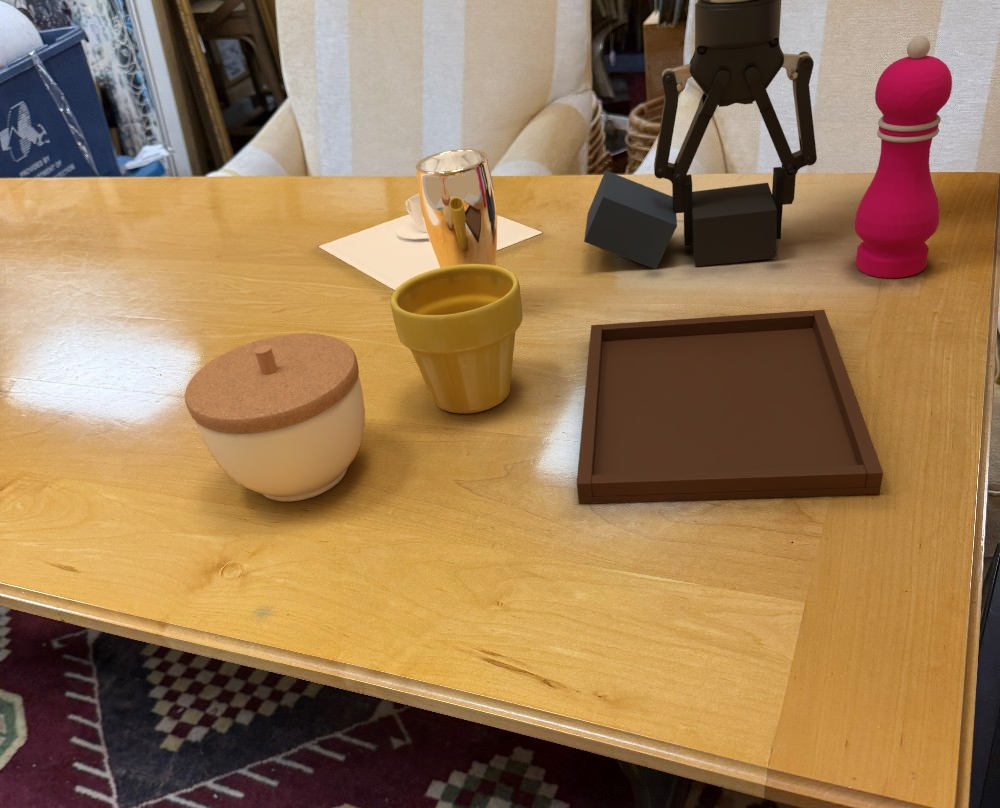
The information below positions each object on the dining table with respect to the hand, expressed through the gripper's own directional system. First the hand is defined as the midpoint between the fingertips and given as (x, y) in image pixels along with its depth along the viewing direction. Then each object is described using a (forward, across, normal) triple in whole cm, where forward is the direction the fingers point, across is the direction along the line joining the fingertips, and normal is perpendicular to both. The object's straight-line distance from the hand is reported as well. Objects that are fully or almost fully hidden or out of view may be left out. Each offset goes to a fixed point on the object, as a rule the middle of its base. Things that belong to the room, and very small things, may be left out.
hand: (731, 237), depth 95 cm
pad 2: (+1, 0, 0) cm, 1 cm away
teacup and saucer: (+2, -35, +10) cm, 36 cm away
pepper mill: (+1, +14, -7) cm, 16 cm away
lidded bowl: (+1, -36, -38) cm, 52 cm away
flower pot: (+1, -24, -27) cm, 36 cm away
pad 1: (-1, -11, 0) cm, 11 cm away
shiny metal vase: (+1, -26, -11) cm, 28 cm away
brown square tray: (+1, -4, -31) cm, 32 cm away
